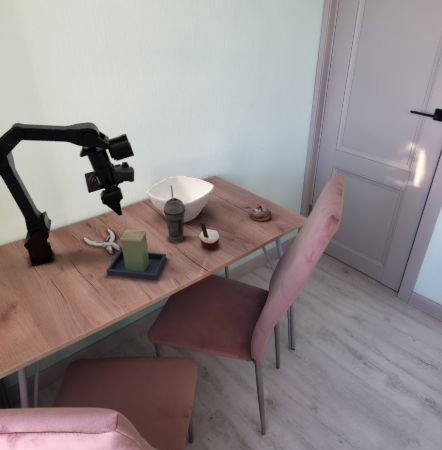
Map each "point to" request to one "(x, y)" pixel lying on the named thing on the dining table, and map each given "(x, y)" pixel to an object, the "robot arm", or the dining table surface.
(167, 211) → the beverage cup
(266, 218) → the pastry
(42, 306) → the dining table surface
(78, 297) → the dining table surface
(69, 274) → the dining table surface
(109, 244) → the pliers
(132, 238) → the tea tin
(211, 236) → the cocoa
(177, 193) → the bowl
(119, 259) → the tray
